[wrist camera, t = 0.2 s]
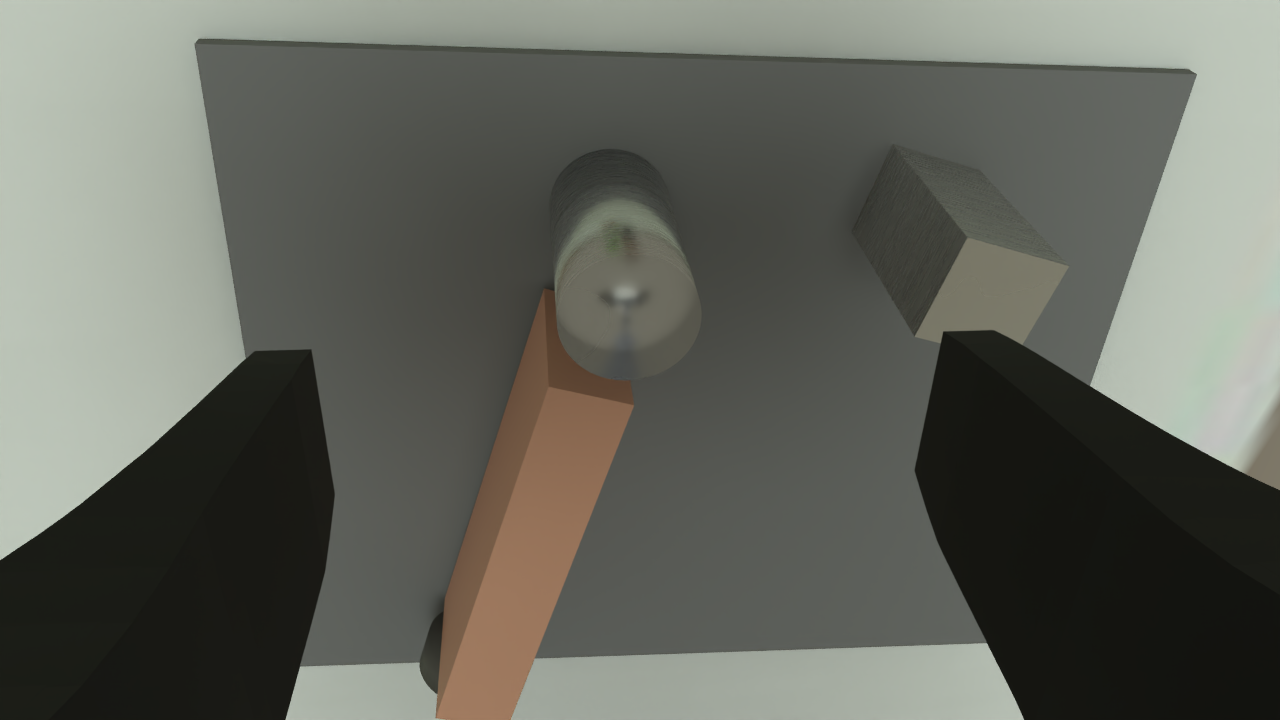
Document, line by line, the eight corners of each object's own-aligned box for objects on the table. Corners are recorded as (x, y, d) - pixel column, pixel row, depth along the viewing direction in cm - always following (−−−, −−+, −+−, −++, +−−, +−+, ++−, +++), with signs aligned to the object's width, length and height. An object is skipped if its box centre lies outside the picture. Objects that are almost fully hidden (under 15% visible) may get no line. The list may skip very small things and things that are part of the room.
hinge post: (662, 253, 22) (695, 380, 18) (548, 252, 22) (555, 380, 18) (671, 144, 21) (708, 255, 17) (549, 142, 21) (557, 253, 17)
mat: (997, 634, 30) (1001, 642, 30) (298, 657, 28) (296, 666, 27) (1188, 70, 21) (1197, 74, 21) (198, 38, 19) (194, 44, 19)
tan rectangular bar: (529, 285, 22) (532, 383, 19) (631, 309, 22) (649, 408, 19) (423, 627, 27) (410, 748, 24) (508, 640, 27) (508, 760, 24)
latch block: (848, 225, 22) (914, 337, 19) (888, 138, 22) (967, 237, 18) (931, 248, 23) (1012, 361, 19) (974, 164, 22) (1069, 266, 18)
